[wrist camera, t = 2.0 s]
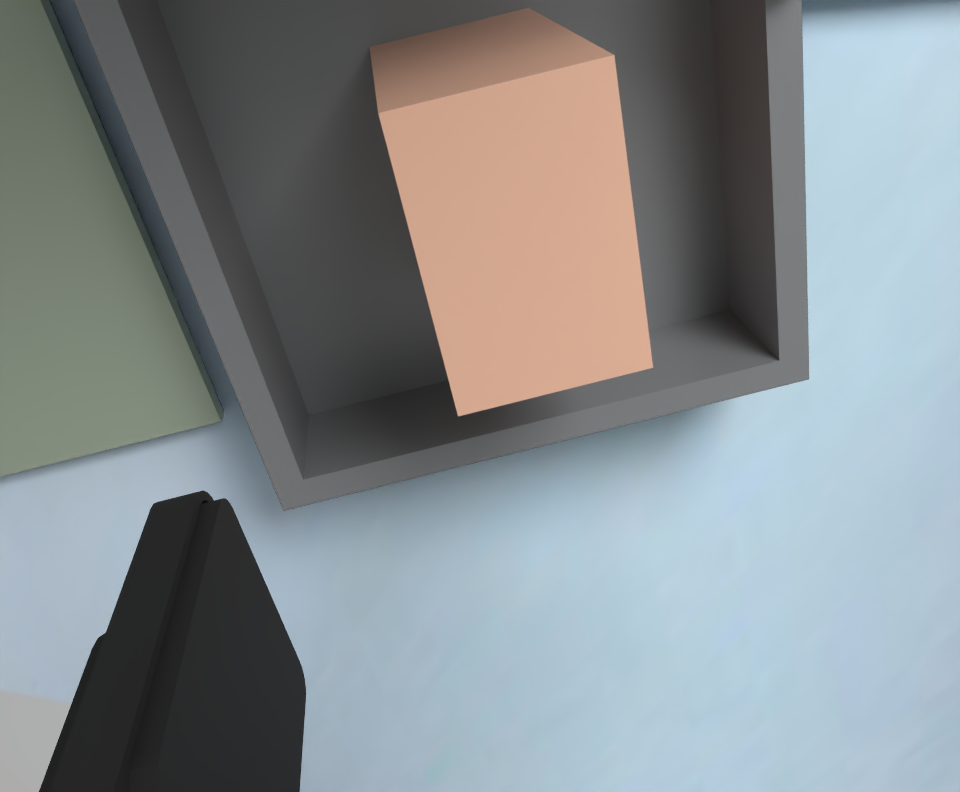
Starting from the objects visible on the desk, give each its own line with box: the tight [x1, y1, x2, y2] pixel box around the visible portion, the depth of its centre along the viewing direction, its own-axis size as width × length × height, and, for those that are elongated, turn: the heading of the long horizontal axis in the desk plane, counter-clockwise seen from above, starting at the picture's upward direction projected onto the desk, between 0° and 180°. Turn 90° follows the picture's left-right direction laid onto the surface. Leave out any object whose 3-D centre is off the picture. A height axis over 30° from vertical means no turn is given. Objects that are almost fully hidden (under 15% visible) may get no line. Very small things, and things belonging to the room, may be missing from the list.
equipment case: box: [74, 0, 809, 511], centre depth 14 cm, size 22×15×17 cm
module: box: [370, 8, 653, 416], centre depth 19 cm, size 6×4×8 cm, turn 12°
